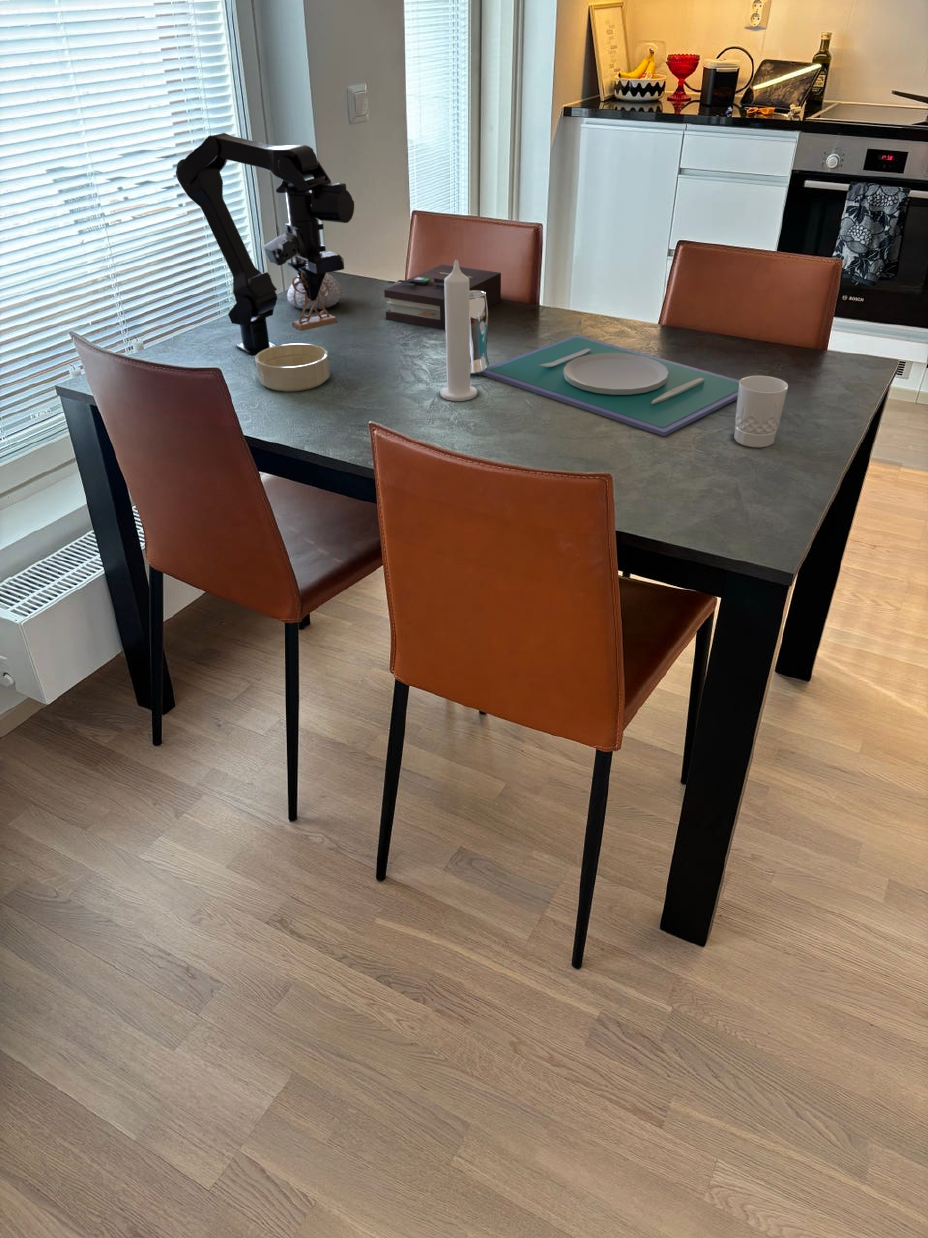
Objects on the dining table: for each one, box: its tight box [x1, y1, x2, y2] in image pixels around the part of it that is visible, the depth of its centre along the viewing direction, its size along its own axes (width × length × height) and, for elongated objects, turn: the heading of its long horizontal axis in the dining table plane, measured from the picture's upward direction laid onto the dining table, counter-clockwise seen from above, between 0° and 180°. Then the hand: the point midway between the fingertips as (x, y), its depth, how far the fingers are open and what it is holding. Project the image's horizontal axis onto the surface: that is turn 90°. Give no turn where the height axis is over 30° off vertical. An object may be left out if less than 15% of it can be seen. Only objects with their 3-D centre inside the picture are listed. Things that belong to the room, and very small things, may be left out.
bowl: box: [254, 342, 331, 392], centre depth 187 cm, size 14×14×5 cm
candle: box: [439, 259, 478, 402], centre depth 174 cm, size 7×7×25 cm
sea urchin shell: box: [286, 273, 343, 310], centre depth 229 cm, size 13×14×8 cm
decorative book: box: [383, 264, 502, 330], centre depth 224 cm, size 19×8×30 cm
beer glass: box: [469, 290, 490, 375], centre depth 187 cm, size 7×7×15 cm
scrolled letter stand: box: [291, 265, 338, 332], centre depth 191 cm, size 9×4×12 cm, turn 127°
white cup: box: [733, 375, 789, 448], centre depth 159 cm, size 8×8×10 cm
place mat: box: [480, 334, 741, 437], centre depth 184 cm, size 45×30×2 cm
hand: (312, 299), depth 192 cm, fingers closed on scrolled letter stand
